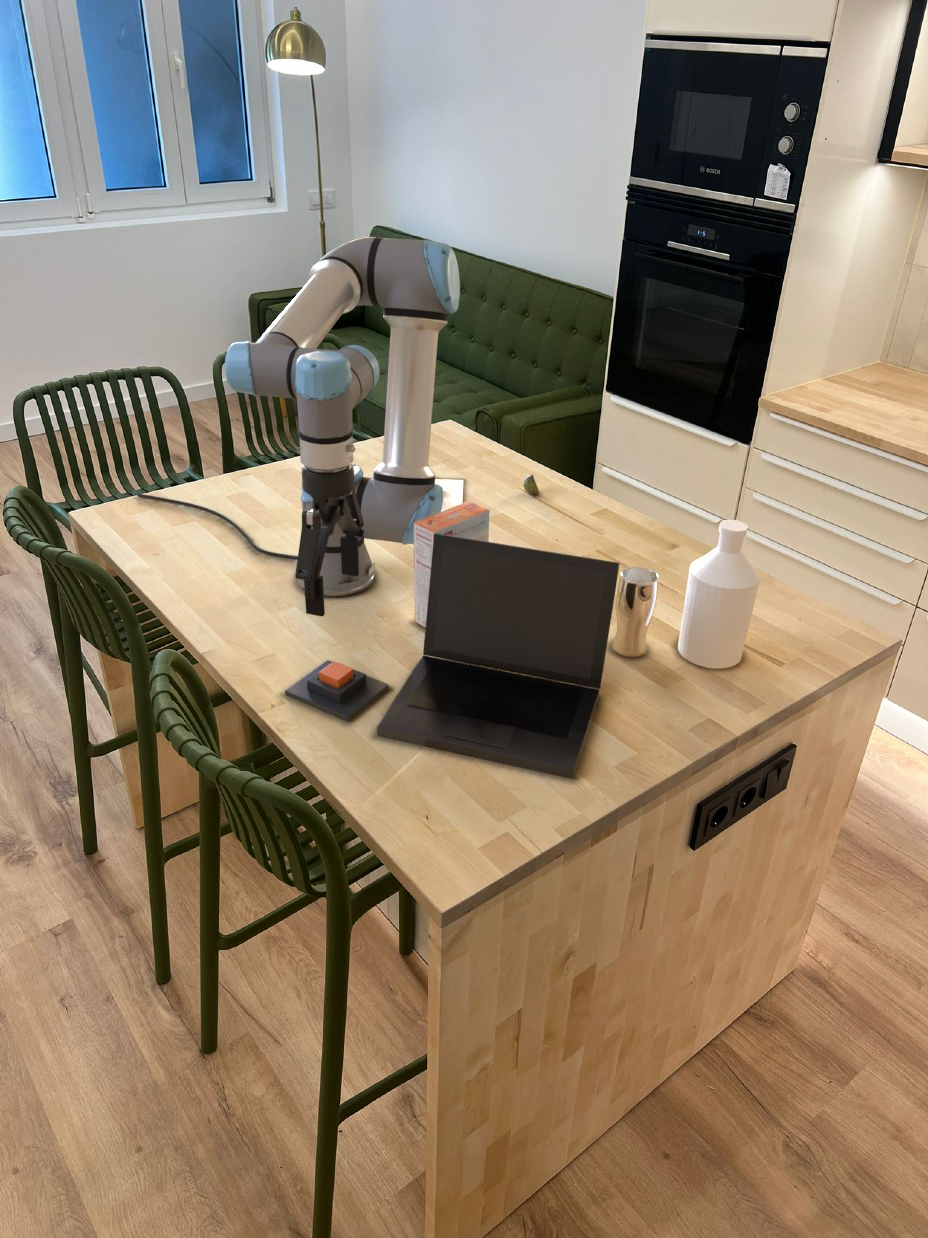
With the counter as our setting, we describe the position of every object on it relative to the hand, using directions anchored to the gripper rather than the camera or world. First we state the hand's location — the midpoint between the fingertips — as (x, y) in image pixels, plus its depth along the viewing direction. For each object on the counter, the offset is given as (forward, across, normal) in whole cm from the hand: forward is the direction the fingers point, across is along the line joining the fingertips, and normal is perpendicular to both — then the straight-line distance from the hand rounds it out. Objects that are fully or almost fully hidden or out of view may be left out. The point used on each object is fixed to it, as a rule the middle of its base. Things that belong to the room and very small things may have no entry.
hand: (333, 593), depth 146 cm
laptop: (+19, +2, -26) cm, 32 cm away
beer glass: (+19, +30, -44) cm, 56 cm away
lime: (+19, +92, -11) cm, 94 cm away
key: (+16, 0, 0) cm, 16 cm away
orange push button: (+19, 0, 0) cm, 19 cm away
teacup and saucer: (+19, +82, +14) cm, 85 cm away
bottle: (+19, +34, -58) cm, 70 cm away
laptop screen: (+6, +15, -26) cm, 31 cm away
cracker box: (+19, +30, -10) cm, 37 cm away
